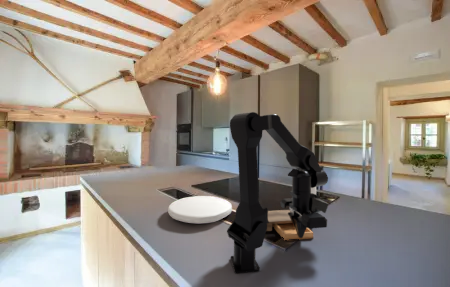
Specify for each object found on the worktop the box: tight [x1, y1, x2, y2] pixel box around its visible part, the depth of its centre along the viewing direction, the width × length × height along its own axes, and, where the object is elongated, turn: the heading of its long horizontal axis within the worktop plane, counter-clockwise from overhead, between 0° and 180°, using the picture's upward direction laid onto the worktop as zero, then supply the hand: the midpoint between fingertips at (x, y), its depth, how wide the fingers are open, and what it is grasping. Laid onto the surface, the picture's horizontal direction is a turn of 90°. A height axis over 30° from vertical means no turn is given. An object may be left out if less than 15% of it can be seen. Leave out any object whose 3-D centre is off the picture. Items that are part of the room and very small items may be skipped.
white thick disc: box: [167, 195, 233, 225], centre depth 88 cm, size 28×6×27 cm
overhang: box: [266, 209, 292, 232], centre depth 79 cm, size 10×20×3 cm, turn 99°
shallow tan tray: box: [272, 223, 314, 241], centre depth 74 cm, size 14×10×2 cm
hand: (300, 237), depth 66 cm, fingers closed
